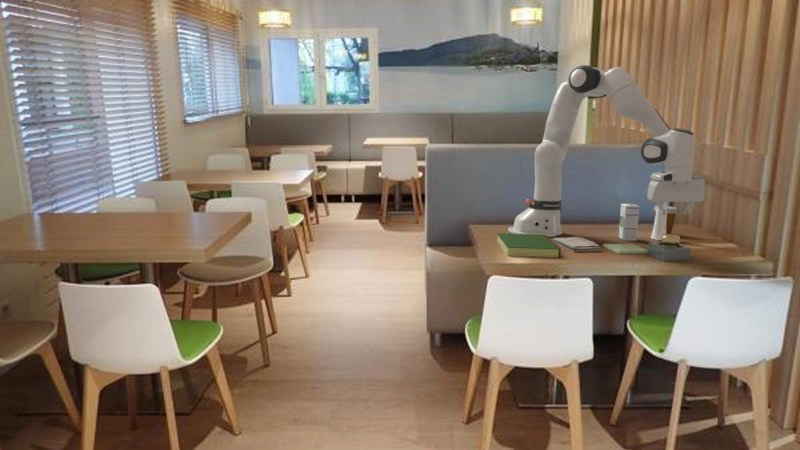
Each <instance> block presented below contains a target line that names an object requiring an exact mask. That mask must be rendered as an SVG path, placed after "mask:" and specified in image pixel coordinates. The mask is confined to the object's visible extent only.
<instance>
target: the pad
mask: <svg viewBox="0 0 800 450" xmlns="http://www.w3.org/2000/svg"><path fill="white" fill-rule="evenodd" d="M602 245H603V246H602V247H603V248H605V249H607V250H610V251H612V252H614V253H616V254H618V255H621V254H622V255H630V254H632V255H633V254H634V255H635V254H639V255H640V254H641V255H643V254H645V255H646V254H647V255H649V254H648V249H645V248H643V247H640V246H639V245H636V244H633V243H603V244H602Z"/></svg>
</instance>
